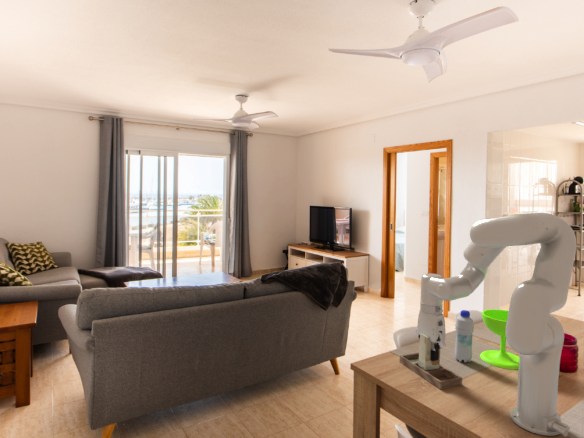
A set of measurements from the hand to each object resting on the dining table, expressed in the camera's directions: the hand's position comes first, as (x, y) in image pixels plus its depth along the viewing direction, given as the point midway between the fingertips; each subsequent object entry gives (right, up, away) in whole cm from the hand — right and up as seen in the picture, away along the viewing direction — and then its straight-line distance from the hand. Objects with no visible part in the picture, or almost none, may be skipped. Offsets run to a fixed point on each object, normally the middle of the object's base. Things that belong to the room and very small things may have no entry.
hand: (429, 356), depth 138 cm
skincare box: (0, -4, 0) cm, 4 cm away
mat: (-3, -5, +7) cm, 9 cm away
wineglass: (+33, -6, +12) cm, 36 cm away
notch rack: (0, -6, 0) cm, 6 cm away
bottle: (+17, -6, +11) cm, 21 cm away
